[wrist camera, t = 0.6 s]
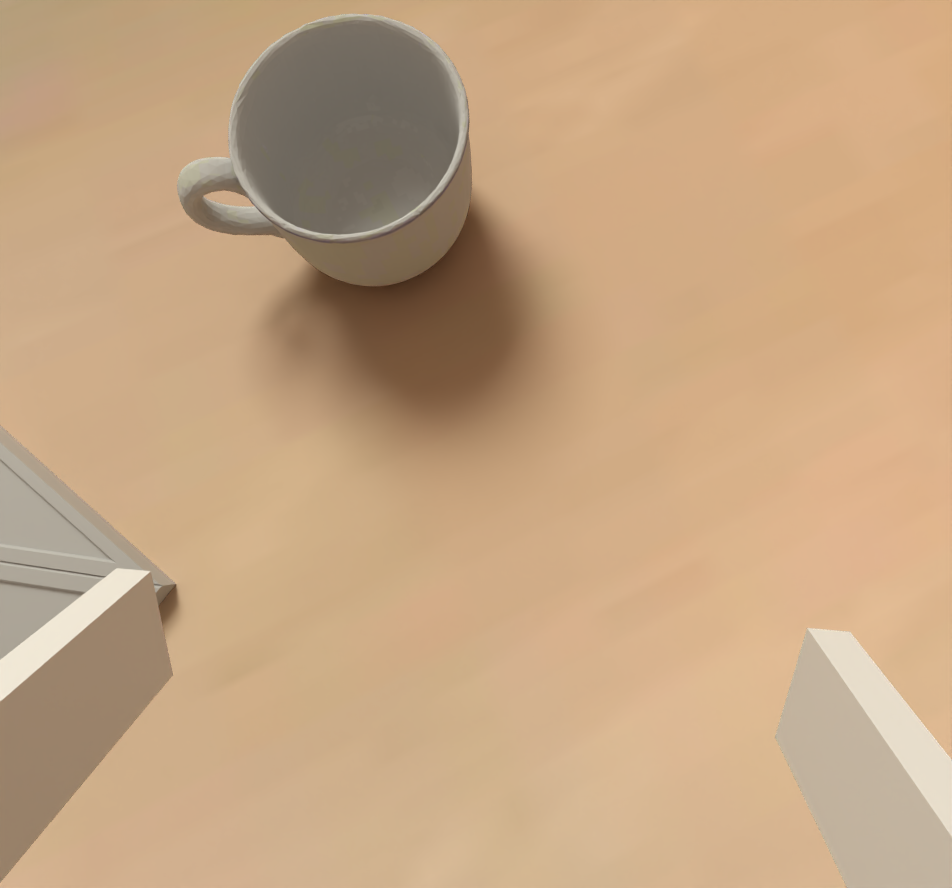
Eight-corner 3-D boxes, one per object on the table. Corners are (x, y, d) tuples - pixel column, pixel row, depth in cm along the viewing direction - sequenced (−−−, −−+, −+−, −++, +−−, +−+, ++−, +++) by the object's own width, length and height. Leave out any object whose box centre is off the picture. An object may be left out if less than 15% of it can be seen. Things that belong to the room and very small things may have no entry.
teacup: (474, 128, 32) (457, -7, 24) (491, 301, 30) (477, 215, 22) (245, 161, 33) (157, 41, 25) (245, 330, 31) (150, 257, 23)
